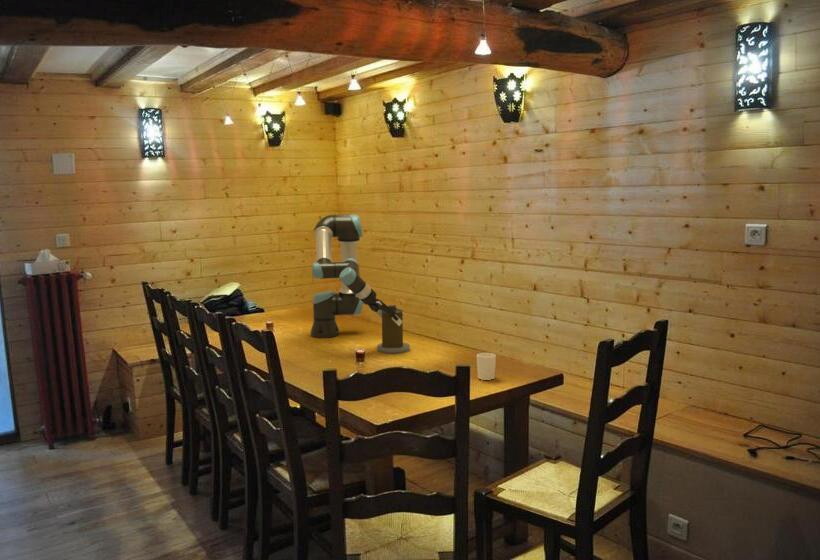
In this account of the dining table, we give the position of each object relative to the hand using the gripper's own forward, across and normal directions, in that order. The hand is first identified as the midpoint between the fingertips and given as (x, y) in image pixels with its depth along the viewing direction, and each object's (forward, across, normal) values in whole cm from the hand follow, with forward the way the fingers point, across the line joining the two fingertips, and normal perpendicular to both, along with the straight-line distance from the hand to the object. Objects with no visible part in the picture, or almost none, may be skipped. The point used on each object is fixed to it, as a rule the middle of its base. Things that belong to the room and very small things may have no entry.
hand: (393, 321), depth 327 cm
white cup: (+15, +64, -5) cm, 66 cm away
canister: (+8, 0, -9) cm, 12 cm away
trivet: (+10, 0, -10) cm, 14 cm away
